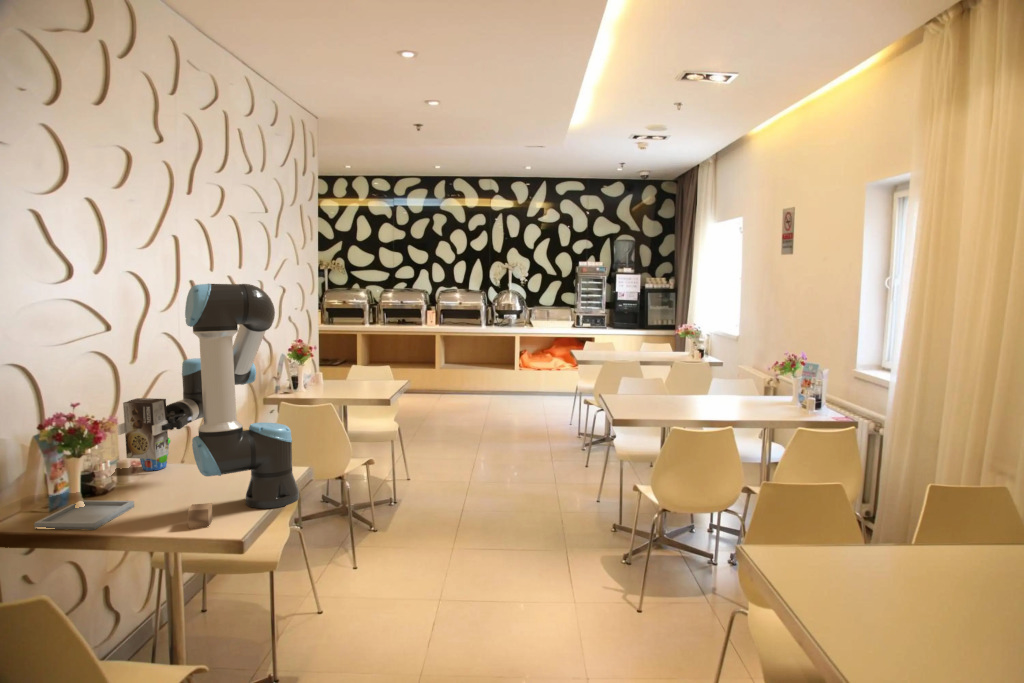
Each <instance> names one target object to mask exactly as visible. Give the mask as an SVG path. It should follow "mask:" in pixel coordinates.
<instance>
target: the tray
mask: <svg viewBox="0 0 1024 683" xmlns="http://www.w3.org/2000/svg"><path fill="white" fill-rule="evenodd" d="M82 500H83V502H84V504H85V506H84V507H79V508H75V505H76V504H73V503H72V504H69V505H67V506H65V507H64V508H62V509H61V508H60V509H59V510H58V511H55V512H54V513H51V514H49V515H47V516H45V517H43V518H41V519H39V520H36V521H35V522H33V523H34V525H33V526H34V528H35V527H46V528H55V529H87V530H86V531H96V530H97V529H98V527H99V528H101V527H102V526H104V525H106V524H107V523H109V522H111V521H113V520H114V519H116V518H118V517H119V516H121V515H122V514H125V513H126V512H128V511H129V510H132V509H133V508H135V501H134V500H94V499H93V500H92V499H91V500H89V499H88V500H85V499H82ZM112 519H113V520H112ZM110 520H111V521H110ZM108 521H109V522H108ZM106 522H107V523H106ZM105 523H106V524H105ZM103 524H104V525H103ZM101 525H102V526H101ZM96 528H97V529H96Z"/></svg>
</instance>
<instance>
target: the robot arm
mask: <svg viewBox="0 0 1024 683" xmlns="http://www.w3.org/2000/svg"><path fill="white" fill-rule="evenodd" d="M186 296H187V297H186V301H185V307H184V308H185V310H184V317H185V324H186V326H188V327H191V328H192V334H194V335H195V336H196V337H197V338H198V340H199V357H200V358H199V357H198V358H194V357H193V358H187V359H185V360H183V362H182V363H181V364H182V365H181V376H182V399H180V400H177V401H175V402H172V403H169V404H168V405H167V404H166V412H167V421H163V422H161V423H158V424H155V425H153V426H152V435H157V434H160V433H162V432H165V431H167V432H168V430H172V431H173V430H174V429H176V430H181V429H182V428H184V427H186V426H187V425H188V424H190V423H192V422H195V421H196V420H199V419H202V418H203V424H201V425H200V427H199V428H198V429H197V432H198V435H196V436H194V437H192V440H191V442H192V445H191V446H192V447H191V448H192V452H193V458H194V461H195V464H196V467H197V469H198V471H199V473H200V475H202V476H204V477H214V476H218V477H221V476H223V475H228V474H235V473H236V474H237V473H241V472H247V471H250V475H251V476H250V480H249V482H248V487H247V489H246V493H245V504H246V506H248V507H250V508H255V509H275V508H281V507H286V506H289V505H291V504H294V503H295V502H297V501H299V499H300V490H299V487H298V485H297V482H296V479H295V476H294V473H293V449H292V447H293V446H292V444H293V438H292V430H291V428H290V427H289V426H288V425H286V424H282V423H278V422H277V423H275V422H254V423H251V424H249V427H248V429H247V430H244V427H243V424H242V423H240V422H239V421H238V420H237V418H238V417H237V402H236V400H237V399H236V386H238V385H241V386H242V385H246V384H252V383H254V382H255V381H256V378H257V377H256V376H257V368H256V365H255V363H254V362H255V359H256V356H257V354H258V351H259V348H260V345H261V343H262V341H263V339H264V335H265V334H266V332H267V331H269V329H271V327H272V326H273V323H274V321H275V315H276V312H275V306H274V302H273V301H272V299H271V298H270V296H269V295H268V294H267V292H265V291H264V290H263V289H262V288H260V287H258V286H257V285H253V284H251V283H250V284H249V283H202V284H201V283H200V284H195V285H192V286H191V287H190V289H189V290H188V293H187V295H186ZM238 325H239V327H238ZM235 334H236V335H235ZM234 335H235V338H234V341H233V336H234ZM124 434H125V424H124V422H122V423H120V424H117V435H119V436H122V435H124Z"/></svg>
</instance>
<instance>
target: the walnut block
mask: <svg viewBox="0 0 1024 683" xmlns="http://www.w3.org/2000/svg"><path fill="white" fill-rule="evenodd" d="M187 519H188V520H187V522H188V523H187V525H188V529H189V528H191V529H196V528H195V527H203V528H208V527H207V526H209V525H210V526H211V524H212V522H213V521H214V520H213V503H212V502H211V503H207V502H206V503H197V504H196V503H194V504H191V505H190V507H189V508H188V510H187ZM212 520H213V521H212ZM210 526H209V527H210Z"/></svg>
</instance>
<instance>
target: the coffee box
mask: <svg viewBox="0 0 1024 683" xmlns="http://www.w3.org/2000/svg"><path fill="white" fill-rule="evenodd" d="M122 405H123V406H122V407H123V408H122V409H123V421H124V422H123V423H124V424H125V433H124V434H125V436H124V437H125V451H126V452H125V453H126V454H125V455H126V459H139V460H140V459H157V458H159V457H162V456H164V455H167V454H168V455H169V453H170V452H169V449H168V438H169V437H168V435H169V434H168V430H167V431H165V432H162V433H160V434H157V435H152V426H153V425H155V424H158V423H161V422H163V421H167V412H166V406H167V399H166V398H147V397H146V398H141V397H140V398H133V399H131V400H127V401H125V402H122Z"/></svg>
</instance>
